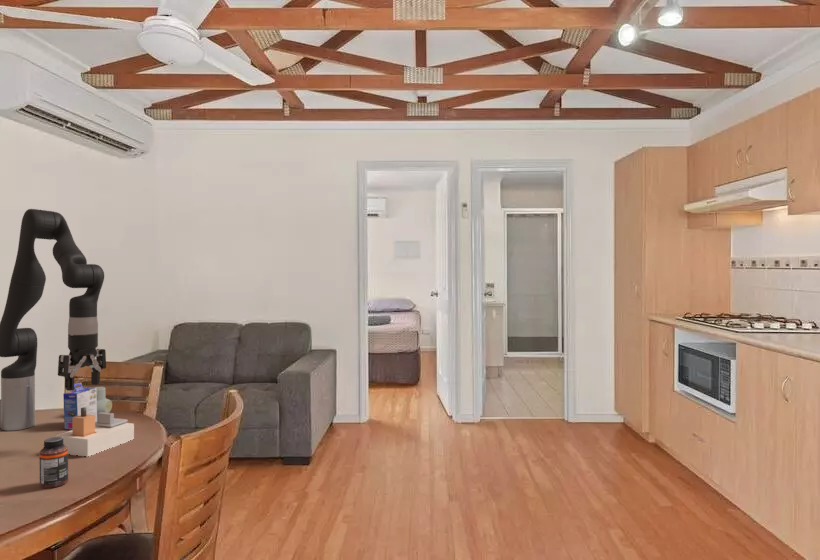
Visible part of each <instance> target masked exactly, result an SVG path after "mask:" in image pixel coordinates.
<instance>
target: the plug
mask: <svg viewBox="0 0 820 560" xmlns="http://www.w3.org/2000/svg"><path fill="white" fill-rule="evenodd" d="M71 430H73V436H79V437H85V436H88V435H91V434H94V433H95V415H89V414H86V407H83V408H81V415H78V416H75V417H72V429H71Z"/></svg>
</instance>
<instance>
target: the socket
mask: <svg viewBox="0 0 820 560" xmlns="http://www.w3.org/2000/svg"><path fill="white" fill-rule="evenodd" d="M54 437H62V438H63V442H64V443H63V444H64V445H65V446H67V448H68V455H69V454H70V456H76V455H78V456H79V457H84V456H86V458H89V457H92V456H94V455H96V453H97V454H99V452H100V453H102V452H104V450H105V451H107V449H108V450H110V449H113V448H115V447H119V446H121V445H123V444H125V443H129V442H131V441H133V439H134V440H135V423H131V422H125V423H122V424H119V425H116V426H113V427H107V426H98V425H95V433H94V434H91V435H88V436H85V437H79V436H73V430H72V429H70V430H69V431H65V432H62V433H58V434H56V435H54ZM130 440H131V441H130ZM128 441H129V442H128ZM120 444H121V445H120ZM112 447H113V448H112ZM109 448H110V449H109ZM101 451H102V452H101ZM91 455H92V456H91ZM78 456H77V457H78ZM88 456H89V457H88Z"/></svg>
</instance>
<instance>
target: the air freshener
mask: <svg viewBox="0 0 820 560" xmlns="http://www.w3.org/2000/svg"><path fill="white" fill-rule="evenodd" d="M94 388H96V393H97V413H100V412H105V413H111V410H112V408H113V401H112V400H111V399H109V398H107V397H106V393H107V392H106V387H105V386H94Z"/></svg>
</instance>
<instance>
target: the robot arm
mask: <svg viewBox="0 0 820 560" xmlns="http://www.w3.org/2000/svg"><path fill="white" fill-rule="evenodd" d="M20 224H21V225H20V232H19V240H18V246H17V253H16V258H15V262H14V266H13V271H12V273H11V278H10V281H9V285H8V286H9V288H8V291H7V297H6V303H5V307H4V310H3V313H2V317H1V319H0V358H12V357H17V359H16V360H15V361H13V363H11V364H8V365H7V366H5V367H3V368H2V369H1V371H0V430H1V431H9V432H10V431H20V430H25V429H29V428H32V427H34V426H35V425H36V424H35V423H36V414H35V413H36V406H35V405H36V396H35V395H36V384H35V383H36V379H35V378H36V376H35V375H36V374H35V373H36V372H35V371H36V367H37V358H38V357H37V356H38V353H37V352H38V336H37V333H36V331H35V329H33V328H31V327H21V328H20V327H18V326H19V325H20V322H21V321H22V319H23V318H24V317H25V315H26V314H28V313H29V312H30V310H32V309H33V308H34V306H36V304H38V303H39V301H40V300H41V298H42V296H43V293H44V290H45V285H46V280H47V277H46V273H45V271H44V268H43V267H42V265H41V263H40V261H39V259H38V257H37V254H36V252H35V251H36V250H35V241H36V239H38V240H49V241H50V240H51V241H52V240H54V241H55V243H54V244H53V247H52V255H53V258H54V260H55V262H56V263H57V264H58V266H59V267H60V270H61V280H62V283H63V284H64V285H65V286H66V287H67V288H70V289H86V290H85V292H84V293H83V294H80V295H77V296H73V297H71V298H70V299H69V304H68V306H69V307H68V308H69V309H68V310H69V311H68V324H67V325H68V326H67V336H68V337H67V349H68V350H69V353H68V354H59V355H58V361H57V363H58V364H57V365H58V366H57V375H58V377H63V378H64V388H65V390H66V391H68V392H70V391H73V390H75V389H74V384H75V377H74V376H75V375H76V373H77V371H79V370H80V369H81V368H84V367H88V368H89V369H90V370H91V377H90V378H91V382H90V383H91V385H95V386H97V385H99V384H100V381H101V372H102V370H104V369H106V368H107V354H106V349H105V348H98V347H99V323H98V322H99V321H98V301H99V298H100V294H101V290H102V288H103V284H104V282H105V272H104V269H103V268H102V266H100V264H95V263H89V264H88V260H87V258H86V256H85V255H84V253H83V252H82V250H81V249H80V248H79V246H77V244H76V242H75V240H74V237H73V235H72V233H71V230H70V228H69V225H68V222H67V220H66V218H65V217H64V216H63V215H62V214H61V213H60V212H57V211H52V210H45V209H43V210H42V209H37V208H28V209H26V210H25V212H24V214H23V216H22V219H21V223H20Z"/></svg>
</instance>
